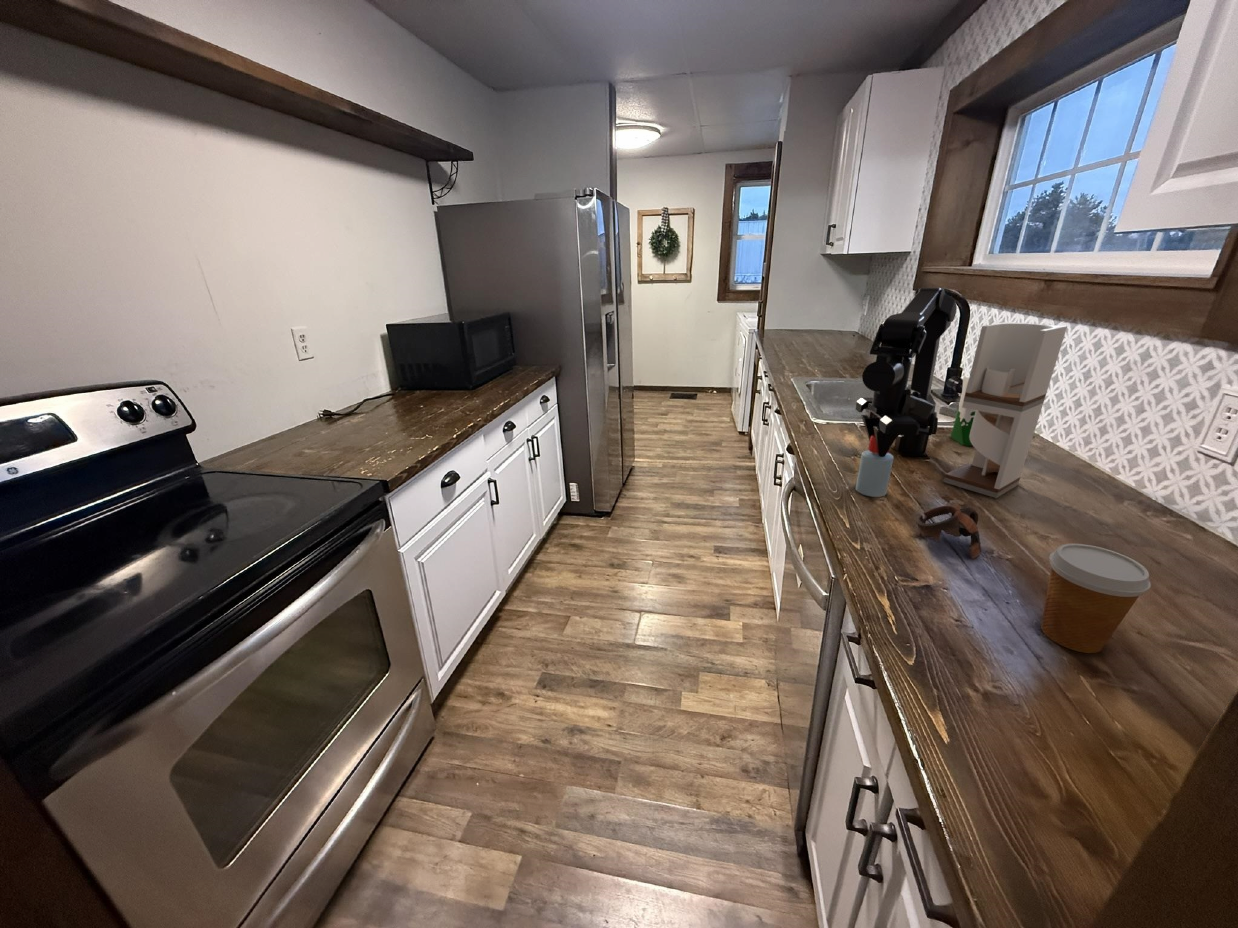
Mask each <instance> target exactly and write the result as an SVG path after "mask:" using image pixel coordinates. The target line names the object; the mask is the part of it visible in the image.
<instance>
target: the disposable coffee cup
mask: <svg viewBox="0 0 1238 928" xmlns="http://www.w3.org/2000/svg"><path fill="white" fill-rule="evenodd" d="M1048 559H1049V564H1050V571H1049V573H1050V574H1049V578H1048V584H1047V590H1046V595H1045V596H1046V597H1045V602H1044V607H1043V613H1042V621H1041V625H1040V628H1041V632H1043V634H1044V635H1045V636H1046V637H1047V638H1048V639H1050V640H1051V641H1052V642H1054V643H1056V644H1058V645H1059V646H1062V647H1063V648H1066V649H1069V650H1072V651H1074V652H1078V653H1084V654H1097V653H1100V652H1101V651H1102V650H1103V648H1104V647H1105V645H1106V644H1107V643H1108V641H1110V638H1112V635H1113V634H1114V632H1116V630H1117V628H1118V627H1119V625H1120V624H1121V623H1122V621H1123V620H1124V618H1125V617H1126V615H1127V614H1128V613H1129V611H1130V610H1131V609H1132V607H1133V606H1134V604H1135V603H1136V602H1137V600H1138V599H1139V598H1140V596H1141V595H1143V594H1144V593H1146V592H1148V591H1149V590H1150V588H1151V587H1152V583H1151V581H1150V572H1149V571H1148V569H1147V568H1146V567H1145V565H1144V566H1143V565H1142V564H1141V563H1140V562H1139V561H1137V560H1135V559H1133V558H1130V557H1129V556H1127V555H1124V554H1121V553H1119V552H1117V551H1114V550H1111V549H1108V548H1105V547H1100V546H1095V545H1090V544H1083V543H1066V544H1061V545H1060V546H1058V547H1057V548H1056V550H1055V551H1052V552H1051V553H1050V554H1049V557H1048Z"/></svg>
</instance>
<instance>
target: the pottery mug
mask: <svg viewBox="0 0 1238 928" xmlns="http://www.w3.org/2000/svg"><path fill="white" fill-rule="evenodd" d="M923 514H924V516H925V517H924V516H923V515H919V516H917V517H916V519H915V524H916V526H917V527H916V530H915V533H916V535H918V536H919V537H923V538H931V539H933V540H934V541H936V542H940V540H939V539H940V536H941V533H942V532H944V533H945V534H946V535H950V536H952V537H953V538H960V537H964V538H967V537H970V546H969V547H968V551H969V553H970V559H972V560H974V559H976V558H978V557H979V556H980V554H981V553H982V547H981V546H982V545H981V542H982V541H981V538H980V532H979V528H978V522H979V513H978V512H977V510H976V509H975V508H973V507H971V506H965V507H962V508H961V507H958V506H956V505H949V504H948V505H941V506H940V505H939V506H936V507H933V508H930V509H927V510H926V511H924V512H923ZM949 514H951V516H950V517H949V518H947V519H944V520H940V521H938V522H931V523H930V522H929V523H927V522H928V521H930V520H931V519H934V518H935V517H939V516H944V515H949Z"/></svg>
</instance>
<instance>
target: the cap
mask: <svg viewBox="0 0 1238 928" xmlns="http://www.w3.org/2000/svg"><path fill="white" fill-rule="evenodd" d="M868 450H869V451H871V452H873V453H877V454H878V450H877V444H876V438H875V435H871V438H870V441H869V443H868ZM887 453H890V449H889V450H888V452H887Z"/></svg>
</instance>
